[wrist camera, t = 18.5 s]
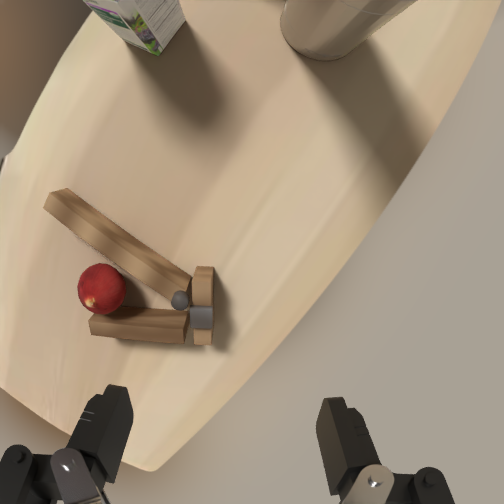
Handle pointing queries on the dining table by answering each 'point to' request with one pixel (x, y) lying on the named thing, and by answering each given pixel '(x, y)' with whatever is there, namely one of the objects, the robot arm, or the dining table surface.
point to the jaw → (120, 246)
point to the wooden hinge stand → (164, 317)
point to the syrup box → (141, 21)
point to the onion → (101, 288)
